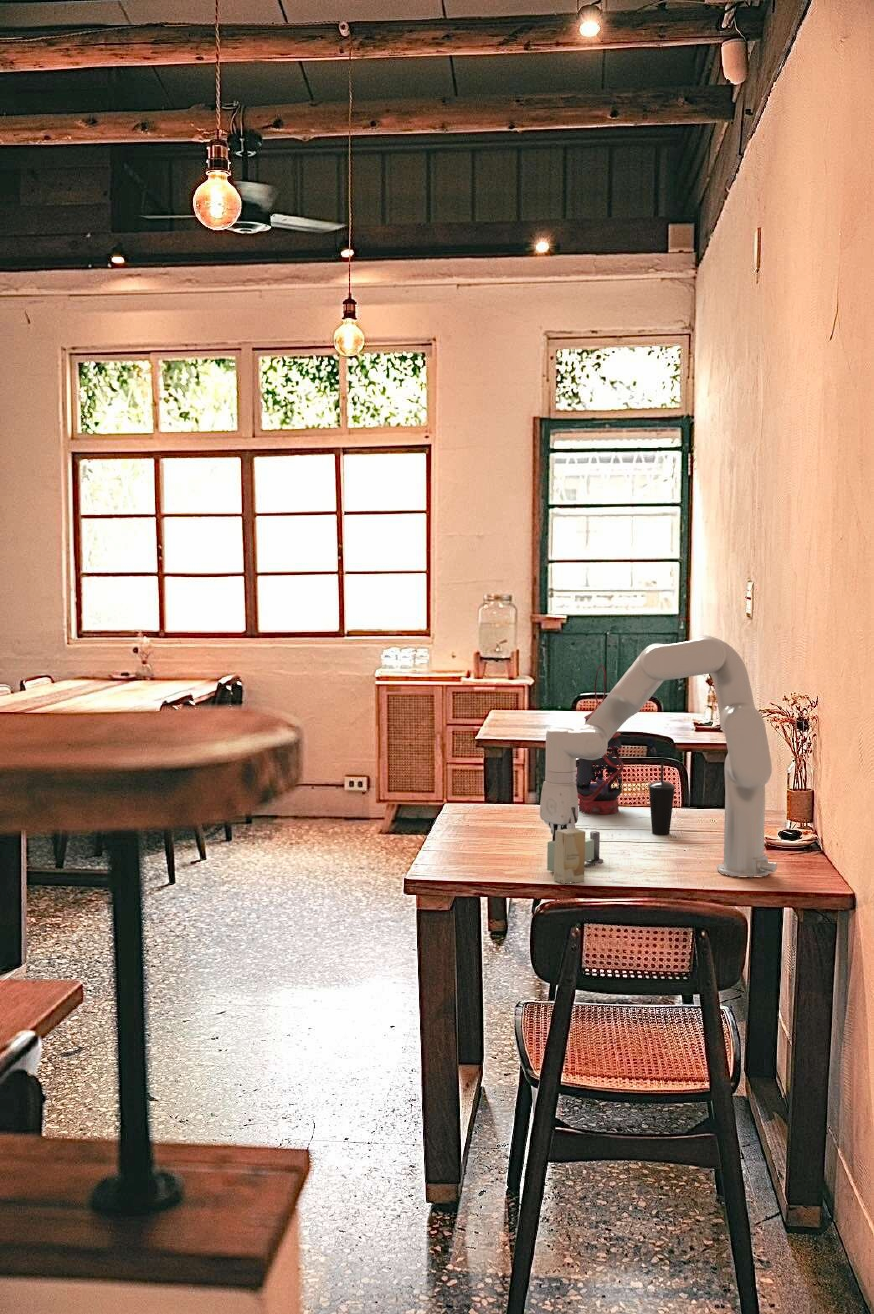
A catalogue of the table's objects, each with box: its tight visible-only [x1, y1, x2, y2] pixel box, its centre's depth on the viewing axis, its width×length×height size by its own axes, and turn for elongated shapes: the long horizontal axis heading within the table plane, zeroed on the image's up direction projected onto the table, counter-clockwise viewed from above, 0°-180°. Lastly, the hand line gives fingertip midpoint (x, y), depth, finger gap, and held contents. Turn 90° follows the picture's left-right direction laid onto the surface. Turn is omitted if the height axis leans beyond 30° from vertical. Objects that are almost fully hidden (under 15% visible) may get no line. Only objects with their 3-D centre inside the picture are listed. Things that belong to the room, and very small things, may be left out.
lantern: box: [576, 664, 625, 816], centre depth 372 cm, size 16×15×45 cm
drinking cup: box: [647, 762, 677, 836], centre depth 342 cm, size 8×8×20 cm
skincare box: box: [553, 827, 586, 885], centre depth 289 cm, size 6×4×12 cm
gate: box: [546, 838, 594, 873], centre depth 302 cm, size 16×2×7 cm, turn 135°
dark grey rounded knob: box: [586, 830, 604, 864], centre depth 308 cm, size 4×4×8 cm
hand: (559, 850), depth 303 cm, fingers closed
